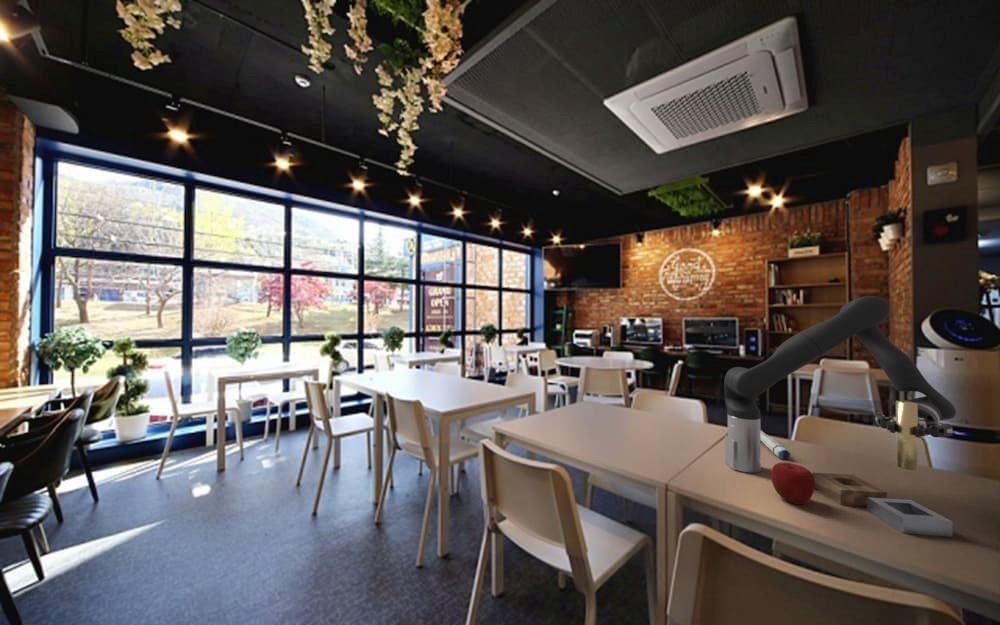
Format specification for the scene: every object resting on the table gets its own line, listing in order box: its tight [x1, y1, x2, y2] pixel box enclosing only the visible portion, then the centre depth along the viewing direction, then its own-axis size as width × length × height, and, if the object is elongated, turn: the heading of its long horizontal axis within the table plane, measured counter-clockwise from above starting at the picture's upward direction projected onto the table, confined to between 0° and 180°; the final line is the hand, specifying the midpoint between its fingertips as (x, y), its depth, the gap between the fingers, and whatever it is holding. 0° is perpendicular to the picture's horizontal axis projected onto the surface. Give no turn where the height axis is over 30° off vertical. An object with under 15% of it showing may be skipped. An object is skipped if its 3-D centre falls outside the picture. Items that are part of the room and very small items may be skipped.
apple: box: [770, 462, 816, 505], centre depth 102 cm, size 10×10×10 cm
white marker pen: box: [760, 429, 791, 461], centre depth 143 cm, size 5×7×25 cm
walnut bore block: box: [811, 471, 888, 507], centre depth 105 cm, size 11×11×4 cm
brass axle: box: [895, 400, 919, 471], centre depth 91 cm, size 4×4×16 cm
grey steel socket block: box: [866, 497, 954, 538], centre depth 91 cm, size 10×10×4 cm
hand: (904, 430), depth 90 cm, fingers closed on brass axle, 3 cm apart
